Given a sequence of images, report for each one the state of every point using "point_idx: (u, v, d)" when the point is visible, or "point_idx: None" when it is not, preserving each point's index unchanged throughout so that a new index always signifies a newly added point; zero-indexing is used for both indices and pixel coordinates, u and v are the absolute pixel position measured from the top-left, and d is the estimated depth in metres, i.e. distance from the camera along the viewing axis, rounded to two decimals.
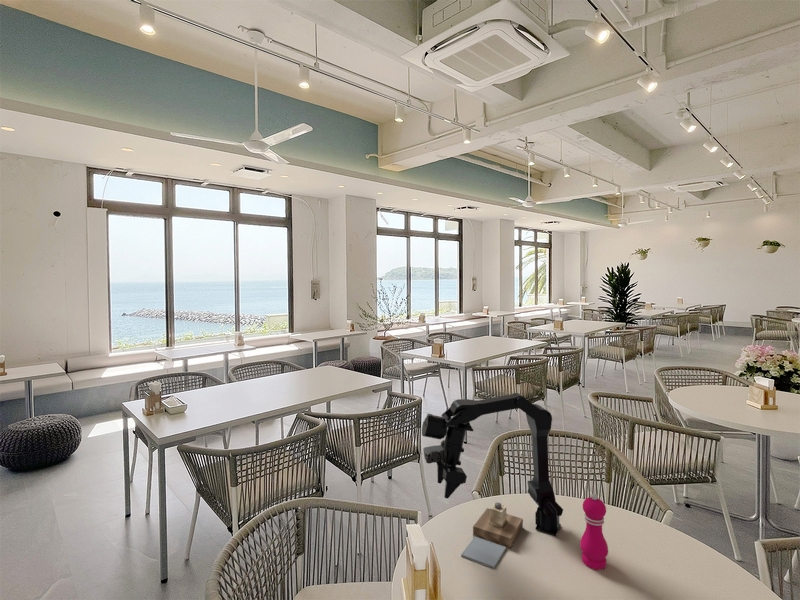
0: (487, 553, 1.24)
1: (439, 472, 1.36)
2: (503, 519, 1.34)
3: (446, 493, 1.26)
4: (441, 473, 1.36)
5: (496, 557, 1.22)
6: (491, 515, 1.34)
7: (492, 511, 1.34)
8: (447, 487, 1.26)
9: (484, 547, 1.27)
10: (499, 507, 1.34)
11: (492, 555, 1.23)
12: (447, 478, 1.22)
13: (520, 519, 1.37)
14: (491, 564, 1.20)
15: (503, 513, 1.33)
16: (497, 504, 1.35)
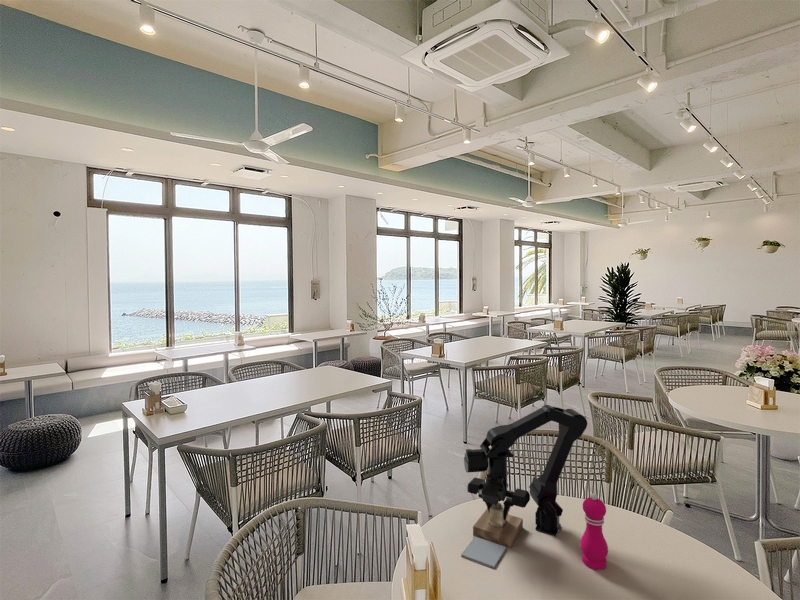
0: (487, 553, 1.24)
1: (490, 506, 1.36)
2: (503, 519, 1.34)
3: (506, 515, 1.33)
4: None
5: (496, 557, 1.22)
6: (492, 515, 1.34)
7: (492, 511, 1.34)
8: (507, 510, 1.33)
9: (484, 547, 1.27)
10: (499, 507, 1.34)
11: (492, 555, 1.23)
12: (524, 505, 1.28)
13: (520, 519, 1.37)
14: (491, 564, 1.20)
15: (503, 513, 1.33)
16: (497, 504, 1.35)
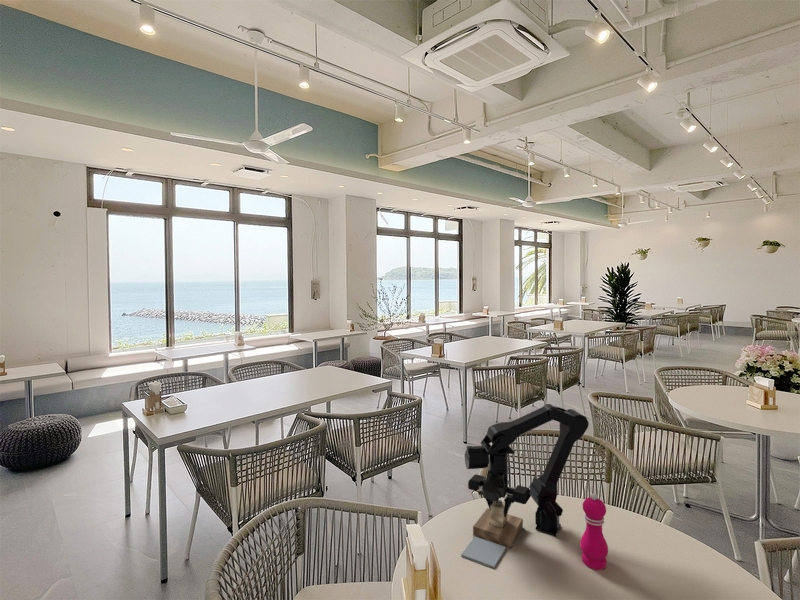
0: (487, 553, 1.24)
1: (491, 503, 1.36)
2: None
3: (507, 512, 1.33)
4: (492, 502, 1.36)
5: (496, 557, 1.22)
6: (492, 513, 1.34)
7: (493, 508, 1.34)
8: (508, 507, 1.32)
9: (484, 547, 1.27)
10: (500, 504, 1.34)
11: (492, 555, 1.23)
12: (525, 502, 1.27)
13: (520, 519, 1.37)
14: (491, 564, 1.20)
15: None
16: (498, 501, 1.35)
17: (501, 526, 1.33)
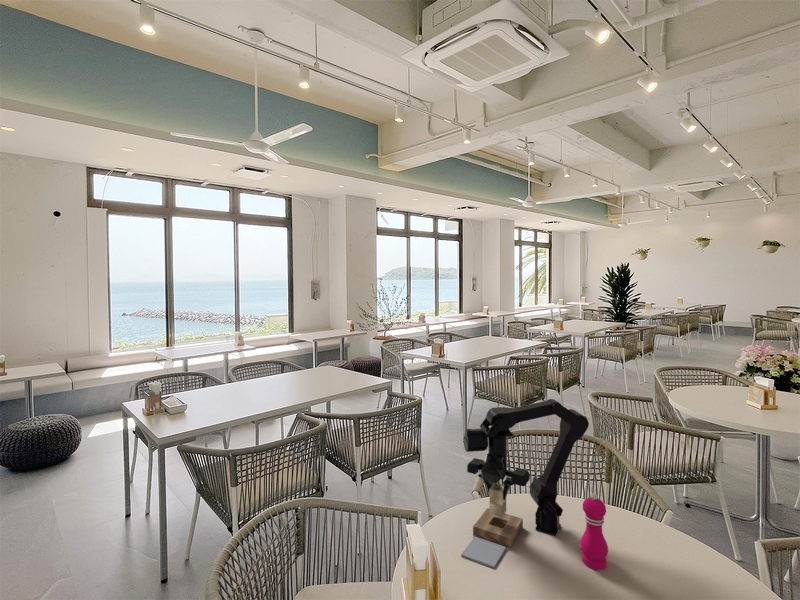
0: (487, 553, 1.24)
1: (490, 486, 1.35)
2: None
3: (506, 495, 1.33)
4: None
5: (496, 557, 1.22)
6: (491, 496, 1.34)
7: (492, 491, 1.34)
8: (507, 490, 1.32)
9: (484, 547, 1.27)
10: (499, 487, 1.34)
11: (492, 555, 1.23)
12: (524, 484, 1.27)
13: (520, 519, 1.37)
14: (491, 564, 1.20)
15: (502, 493, 1.33)
16: (497, 484, 1.35)
17: (500, 509, 1.32)
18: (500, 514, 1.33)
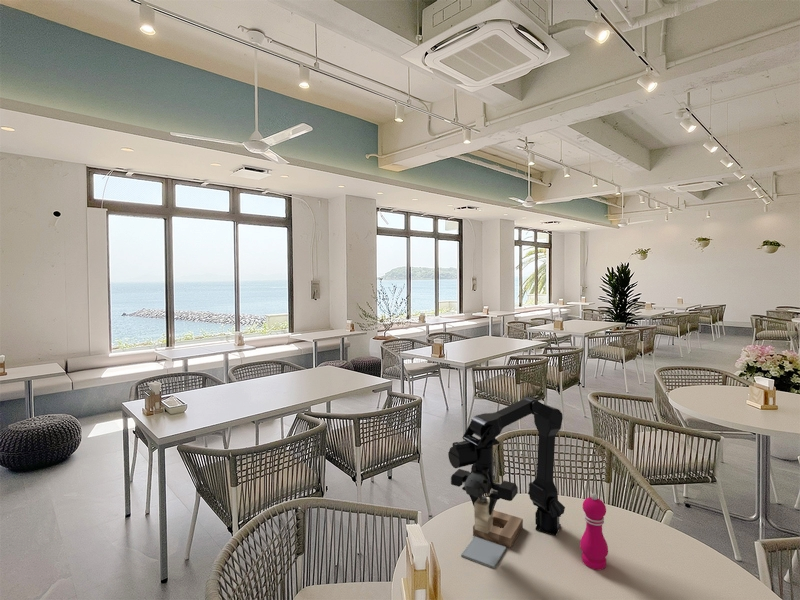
0: (487, 553, 1.24)
1: (475, 500, 1.25)
2: None
3: (492, 510, 1.23)
4: (476, 499, 1.26)
5: (496, 557, 1.22)
6: (476, 510, 1.24)
7: (477, 505, 1.24)
8: (493, 504, 1.22)
9: (484, 547, 1.27)
10: (484, 501, 1.24)
11: (492, 555, 1.23)
12: (511, 498, 1.17)
13: (520, 519, 1.37)
14: (491, 564, 1.20)
15: (488, 508, 1.23)
16: (482, 498, 1.25)
17: (486, 525, 1.23)
18: (485, 530, 1.23)
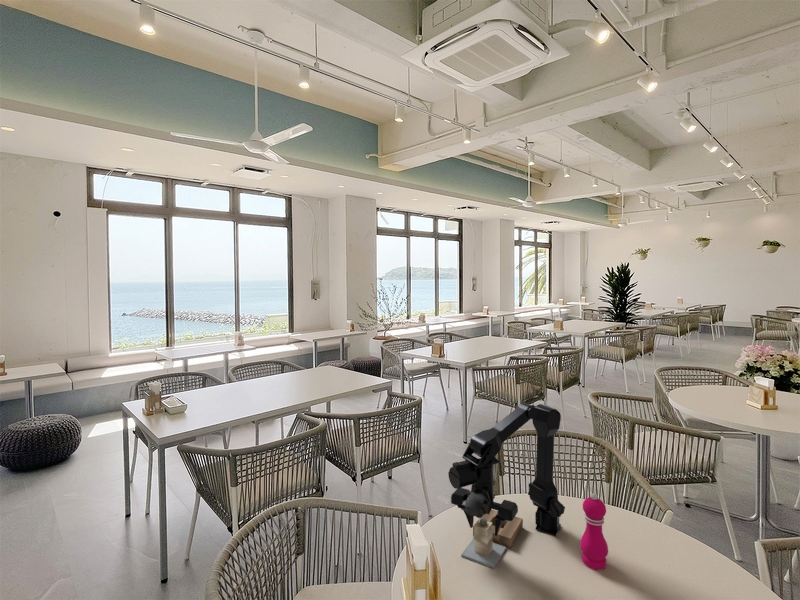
0: None
1: (470, 517, 1.27)
2: (489, 537, 1.24)
3: (498, 531, 1.22)
4: (471, 516, 1.27)
5: (496, 557, 1.22)
6: (476, 533, 1.24)
7: (477, 528, 1.24)
8: (499, 525, 1.22)
9: None
10: (484, 524, 1.24)
11: (492, 555, 1.23)
12: (511, 518, 1.18)
13: (520, 519, 1.37)
14: (491, 564, 1.20)
15: (488, 531, 1.23)
16: (482, 521, 1.25)
17: (486, 548, 1.23)
18: (485, 553, 1.23)
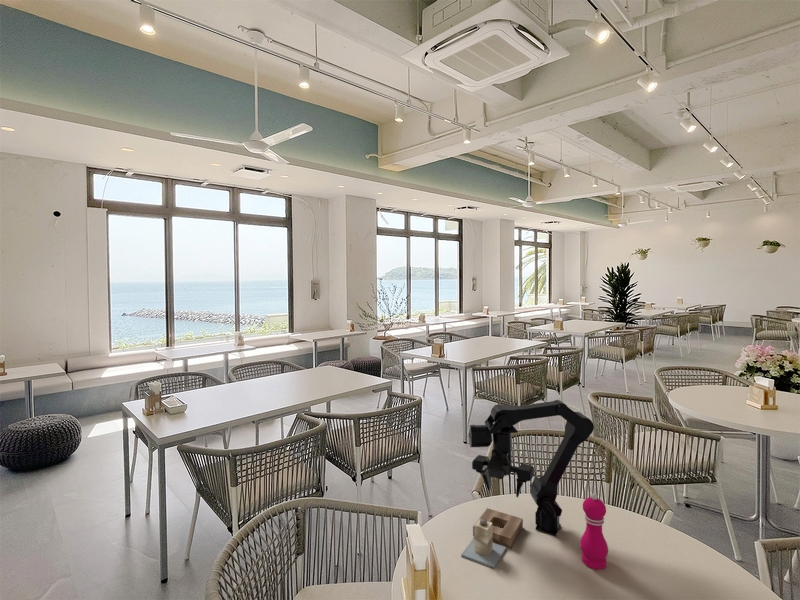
0: None
1: (488, 480, 1.38)
2: (489, 537, 1.24)
3: (519, 492, 1.33)
4: (488, 480, 1.38)
5: (496, 557, 1.22)
6: (476, 533, 1.24)
7: (477, 528, 1.24)
8: (520, 487, 1.32)
9: None
10: (484, 524, 1.24)
11: (492, 555, 1.23)
12: (529, 479, 1.29)
13: (520, 519, 1.37)
14: (491, 564, 1.20)
15: (488, 531, 1.23)
16: (482, 521, 1.25)
17: (486, 548, 1.23)
18: (485, 553, 1.23)
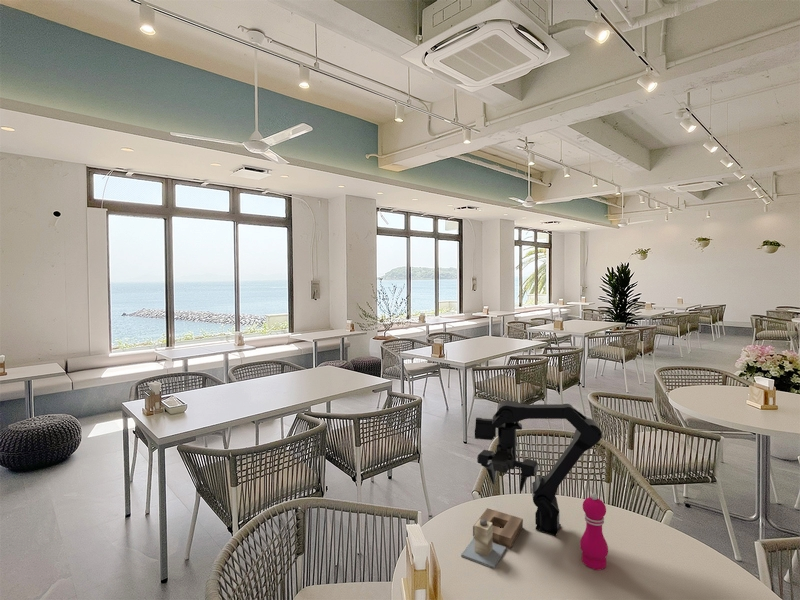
0: None
1: (492, 474, 1.41)
2: (489, 537, 1.24)
3: (522, 487, 1.36)
4: (493, 474, 1.42)
5: (496, 557, 1.22)
6: (476, 533, 1.24)
7: (477, 528, 1.24)
8: (524, 481, 1.35)
9: None
10: (484, 524, 1.24)
11: (492, 555, 1.23)
12: (533, 474, 1.32)
13: (520, 519, 1.37)
14: (491, 564, 1.20)
15: (488, 531, 1.23)
16: (482, 521, 1.25)
17: (486, 548, 1.23)
18: (485, 553, 1.23)
